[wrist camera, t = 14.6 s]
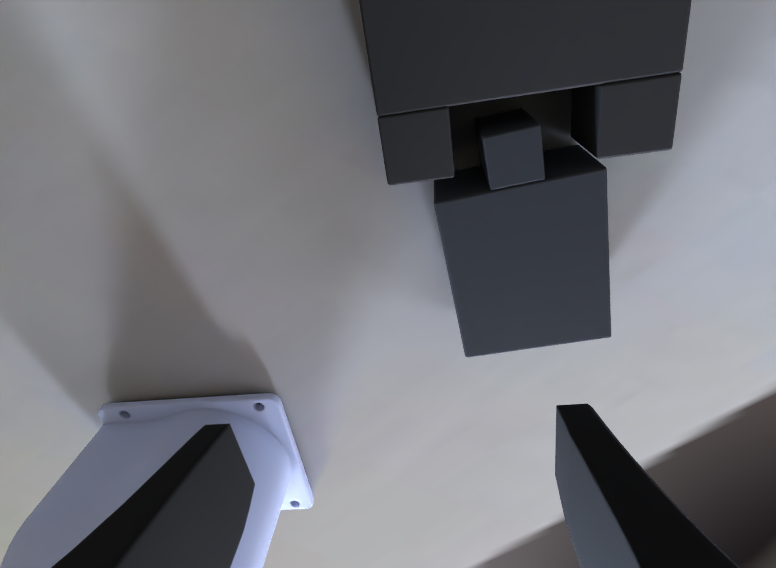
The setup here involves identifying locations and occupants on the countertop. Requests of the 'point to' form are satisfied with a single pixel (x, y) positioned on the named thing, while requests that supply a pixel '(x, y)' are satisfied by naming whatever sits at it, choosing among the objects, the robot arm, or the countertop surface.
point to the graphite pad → (526, 240)
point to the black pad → (523, 70)
